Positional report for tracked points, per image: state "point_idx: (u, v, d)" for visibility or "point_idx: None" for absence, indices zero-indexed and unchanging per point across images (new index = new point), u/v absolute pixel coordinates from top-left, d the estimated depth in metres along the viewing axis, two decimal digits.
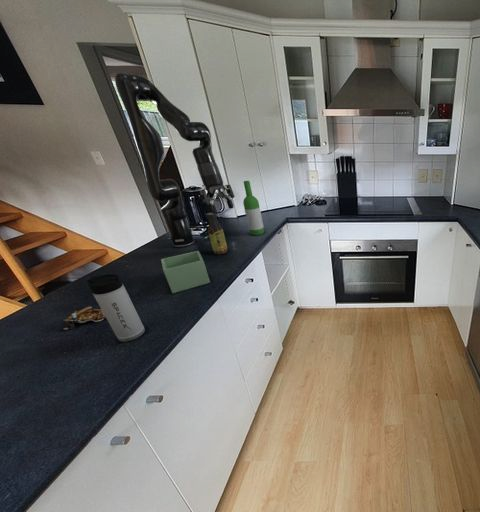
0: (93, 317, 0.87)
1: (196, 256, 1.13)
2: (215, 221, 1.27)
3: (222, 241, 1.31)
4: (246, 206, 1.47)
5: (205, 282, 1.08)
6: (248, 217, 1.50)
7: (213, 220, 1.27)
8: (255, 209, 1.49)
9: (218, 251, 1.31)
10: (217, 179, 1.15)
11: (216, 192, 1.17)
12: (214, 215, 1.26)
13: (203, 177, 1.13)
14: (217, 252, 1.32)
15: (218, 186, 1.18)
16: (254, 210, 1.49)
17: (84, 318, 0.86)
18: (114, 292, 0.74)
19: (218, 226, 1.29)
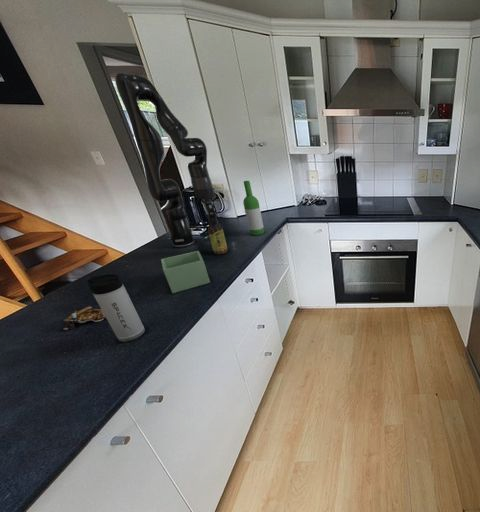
0: (93, 317, 0.87)
1: (196, 256, 1.13)
2: None
3: (222, 241, 1.31)
4: (246, 206, 1.47)
5: (205, 282, 1.08)
6: (248, 217, 1.50)
7: None
8: (255, 209, 1.49)
9: (218, 251, 1.31)
10: None
11: None
12: None
13: (205, 190, 1.19)
14: (217, 252, 1.32)
15: None
16: (254, 210, 1.49)
17: (84, 318, 0.86)
18: (114, 292, 0.74)
19: (218, 226, 1.29)
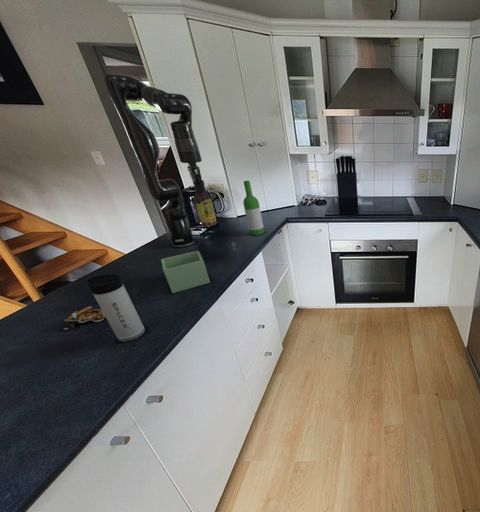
0: (93, 317, 0.87)
1: (196, 256, 1.13)
2: None
3: (210, 212, 1.21)
4: (246, 206, 1.47)
5: (205, 282, 1.08)
6: (248, 217, 1.50)
7: None
8: (255, 209, 1.49)
9: (206, 223, 1.22)
10: (200, 156, 1.14)
11: (199, 169, 1.15)
12: None
13: (191, 153, 1.09)
14: (205, 224, 1.22)
15: None
16: (254, 210, 1.49)
17: (84, 318, 0.86)
18: (114, 292, 0.74)
19: (206, 195, 1.19)
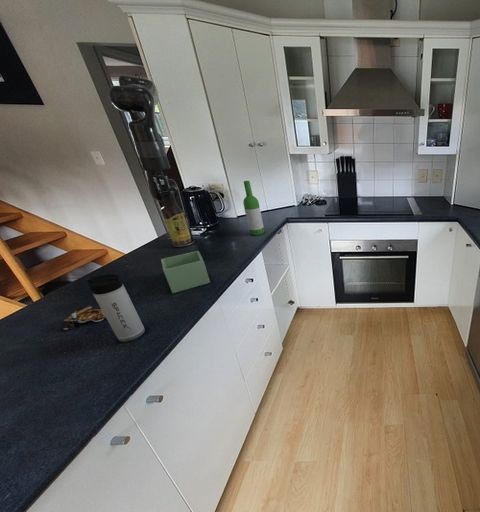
0: (93, 317, 0.87)
1: (196, 256, 1.13)
2: None
3: (183, 228, 1.02)
4: (246, 206, 1.47)
5: (205, 282, 1.08)
6: (248, 217, 1.50)
7: None
8: (255, 209, 1.49)
9: (178, 241, 1.03)
10: (168, 162, 0.95)
11: (167, 178, 0.96)
12: None
13: (155, 159, 0.90)
14: (177, 242, 1.03)
15: None
16: (254, 210, 1.49)
17: (84, 318, 0.86)
18: (114, 292, 0.74)
19: (177, 209, 1.00)
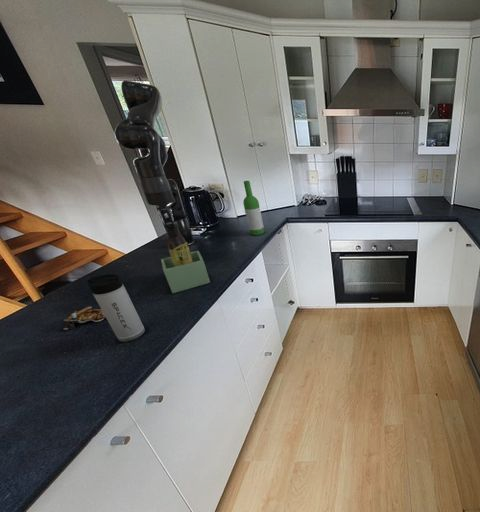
0: (93, 317, 0.87)
1: (196, 256, 1.13)
2: None
3: (186, 258, 1.04)
4: (246, 206, 1.47)
5: (205, 282, 1.08)
6: (248, 217, 1.50)
7: None
8: (255, 209, 1.49)
9: None
10: (172, 195, 0.97)
11: (171, 211, 0.97)
12: None
13: (159, 194, 0.92)
14: None
15: None
16: (254, 210, 1.49)
17: (84, 318, 0.86)
18: (114, 292, 0.74)
19: (180, 239, 1.01)
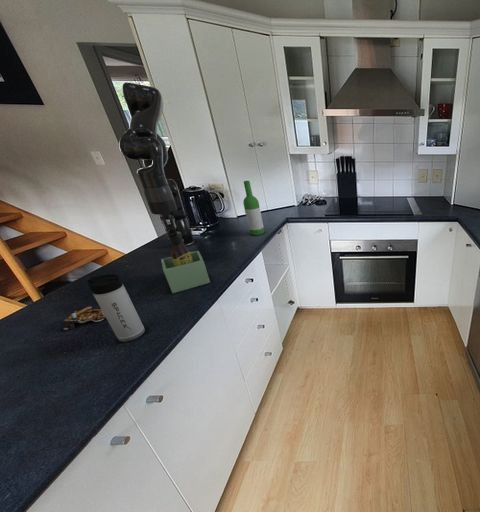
0: (93, 317, 0.87)
1: (196, 256, 1.13)
2: None
3: None
4: (246, 206, 1.47)
5: (205, 282, 1.08)
6: (248, 217, 1.50)
7: None
8: (255, 209, 1.49)
9: None
10: (175, 204, 0.98)
11: (174, 219, 0.98)
12: (178, 235, 1.01)
13: (163, 203, 0.93)
14: None
15: None
16: (254, 210, 1.49)
17: (84, 318, 0.86)
18: (114, 292, 0.74)
19: (183, 248, 1.03)
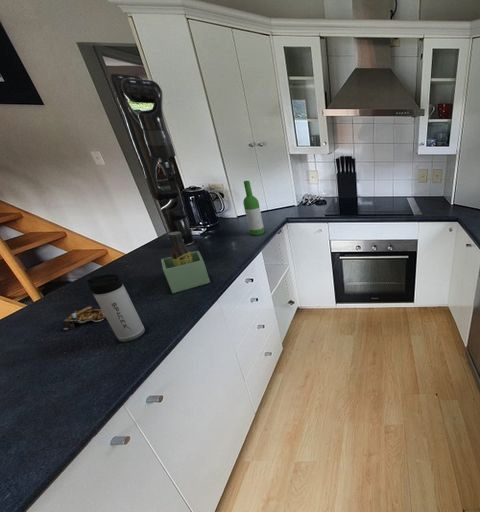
0: (93, 317, 0.87)
1: (196, 256, 1.13)
2: (179, 242, 1.02)
3: None
4: (246, 206, 1.47)
5: (205, 282, 1.08)
6: (248, 217, 1.50)
7: (177, 242, 1.01)
8: (255, 209, 1.49)
9: None
10: None
11: None
12: (178, 235, 1.01)
13: (162, 147, 0.98)
14: None
15: None
16: (254, 210, 1.49)
17: (84, 318, 0.86)
18: (114, 292, 0.74)
19: (184, 248, 1.03)
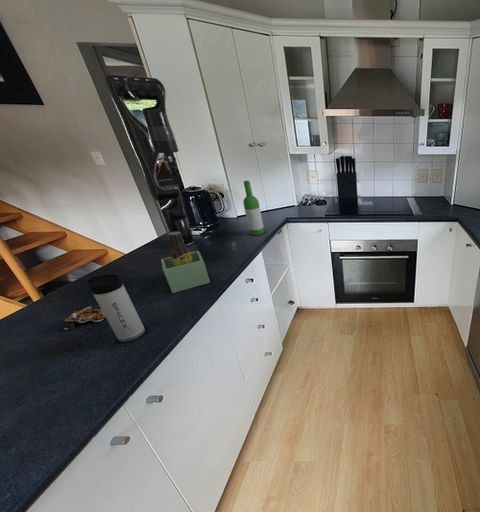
0: (93, 317, 0.87)
1: (196, 256, 1.13)
2: (179, 242, 1.02)
3: None
4: (246, 206, 1.47)
5: (205, 282, 1.08)
6: (248, 217, 1.50)
7: (177, 242, 1.01)
8: (255, 209, 1.49)
9: None
10: None
11: None
12: (178, 235, 1.01)
13: (165, 142, 1.01)
14: None
15: None
16: (254, 210, 1.49)
17: (84, 318, 0.86)
18: (114, 292, 0.74)
19: (184, 248, 1.03)
